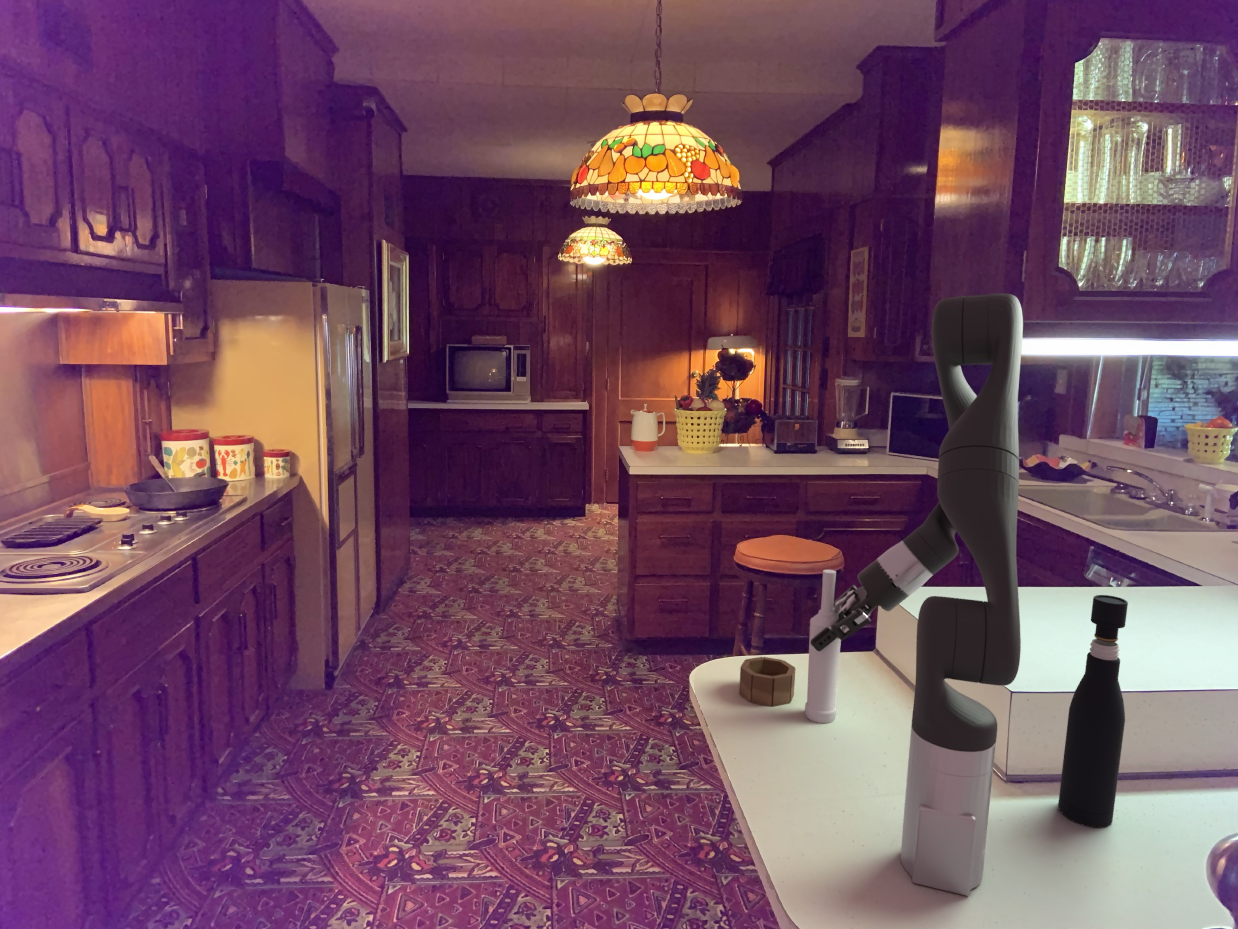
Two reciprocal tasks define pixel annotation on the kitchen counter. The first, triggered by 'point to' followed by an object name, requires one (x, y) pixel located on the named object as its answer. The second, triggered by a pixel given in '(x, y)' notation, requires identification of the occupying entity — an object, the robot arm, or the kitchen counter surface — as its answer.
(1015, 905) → the kitchen counter surface
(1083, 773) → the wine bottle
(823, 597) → the bottle
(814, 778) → the kitchen counter surface
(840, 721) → the kitchen counter surface
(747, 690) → the wooden cup
